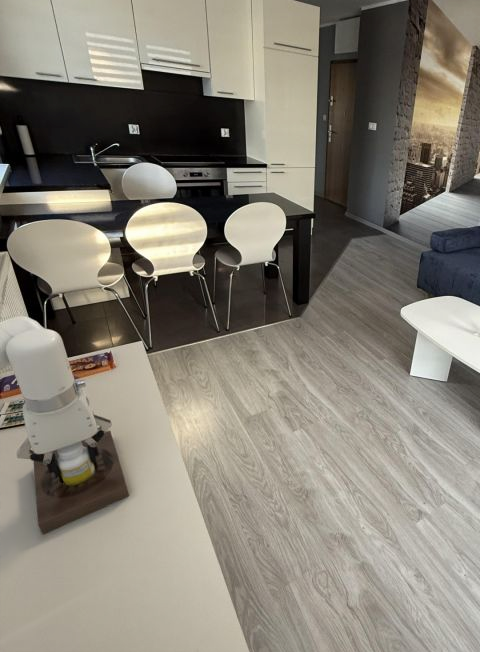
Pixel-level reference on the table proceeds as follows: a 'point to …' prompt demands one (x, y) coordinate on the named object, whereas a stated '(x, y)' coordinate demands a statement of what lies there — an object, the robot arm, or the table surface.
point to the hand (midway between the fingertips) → (75, 464)
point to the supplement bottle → (75, 463)
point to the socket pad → (79, 489)
